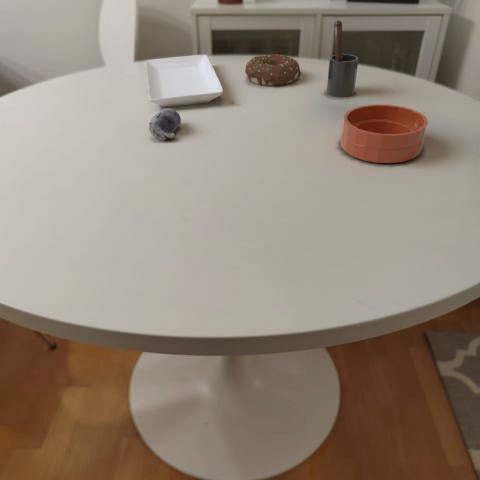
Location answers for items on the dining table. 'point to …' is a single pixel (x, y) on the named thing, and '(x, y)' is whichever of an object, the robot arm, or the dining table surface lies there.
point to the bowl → (383, 133)
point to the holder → (342, 76)
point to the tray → (182, 80)
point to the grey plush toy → (164, 124)
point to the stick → (338, 41)
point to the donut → (272, 70)
